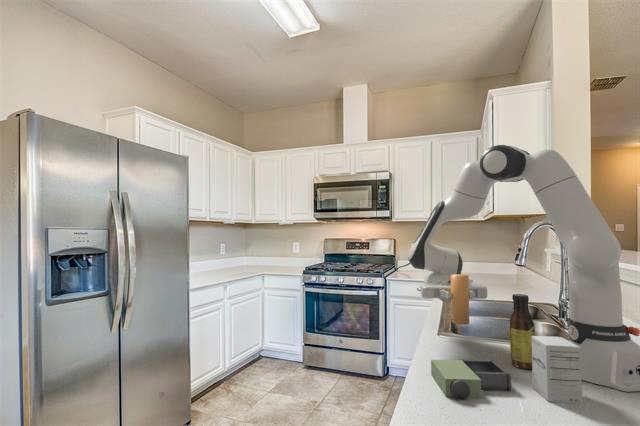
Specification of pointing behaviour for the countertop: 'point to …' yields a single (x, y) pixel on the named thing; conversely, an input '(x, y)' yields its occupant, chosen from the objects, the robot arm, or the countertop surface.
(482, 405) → the countertop surface
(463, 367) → the green rectangular block
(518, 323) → the sauce bottle
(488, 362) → the frame
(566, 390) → the supplement box
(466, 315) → the orange cylinder
